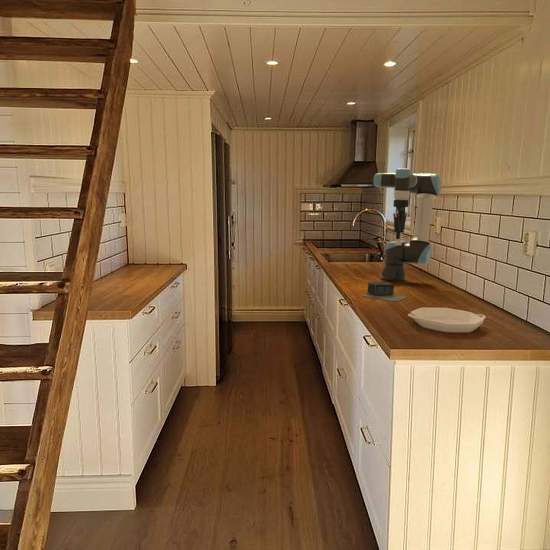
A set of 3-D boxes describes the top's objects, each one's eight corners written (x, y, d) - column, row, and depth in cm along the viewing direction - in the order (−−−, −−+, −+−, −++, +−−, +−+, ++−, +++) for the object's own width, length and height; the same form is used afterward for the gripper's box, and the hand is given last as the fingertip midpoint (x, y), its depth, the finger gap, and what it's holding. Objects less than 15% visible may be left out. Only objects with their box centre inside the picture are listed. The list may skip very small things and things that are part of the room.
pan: (419, 334, 175) (419, 323, 175) (396, 317, 200) (397, 306, 200) (500, 335, 178) (502, 323, 177) (468, 317, 203) (469, 307, 202)
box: (385, 292, 250) (367, 292, 247) (386, 281, 249) (368, 281, 246) (393, 295, 242) (374, 295, 239) (394, 284, 242) (375, 284, 239)
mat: (374, 292, 250) (374, 291, 250) (407, 297, 239) (407, 297, 239) (362, 296, 239) (362, 295, 239) (396, 302, 228) (396, 301, 228)
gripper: (399, 198, 253) (396, 243, 258) (389, 199, 243) (386, 245, 247) (413, 199, 249) (409, 244, 253) (403, 199, 239) (400, 246, 243)
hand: (398, 245), depth 250 cm, fingers closed
